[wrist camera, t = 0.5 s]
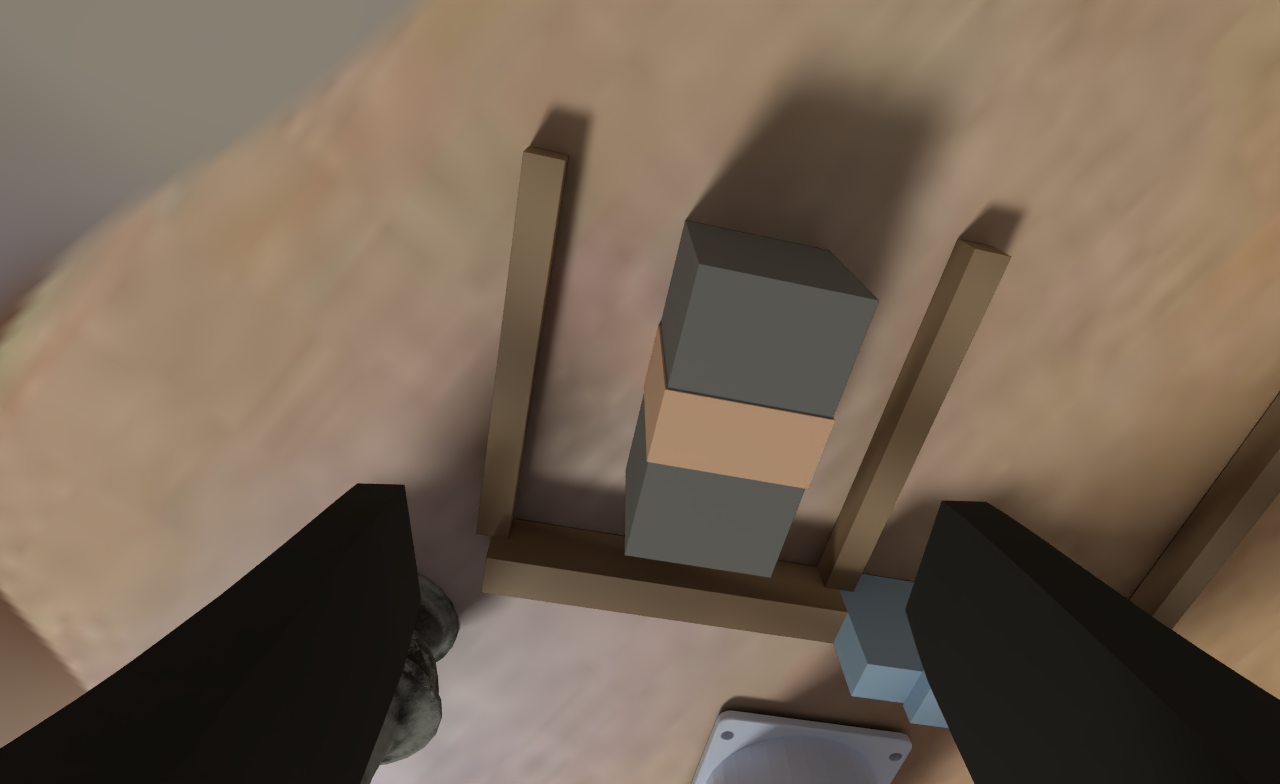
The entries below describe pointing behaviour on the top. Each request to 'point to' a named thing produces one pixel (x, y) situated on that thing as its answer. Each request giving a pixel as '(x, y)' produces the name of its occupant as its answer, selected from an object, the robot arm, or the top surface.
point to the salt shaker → (417, 682)
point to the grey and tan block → (739, 397)
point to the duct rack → (836, 589)
